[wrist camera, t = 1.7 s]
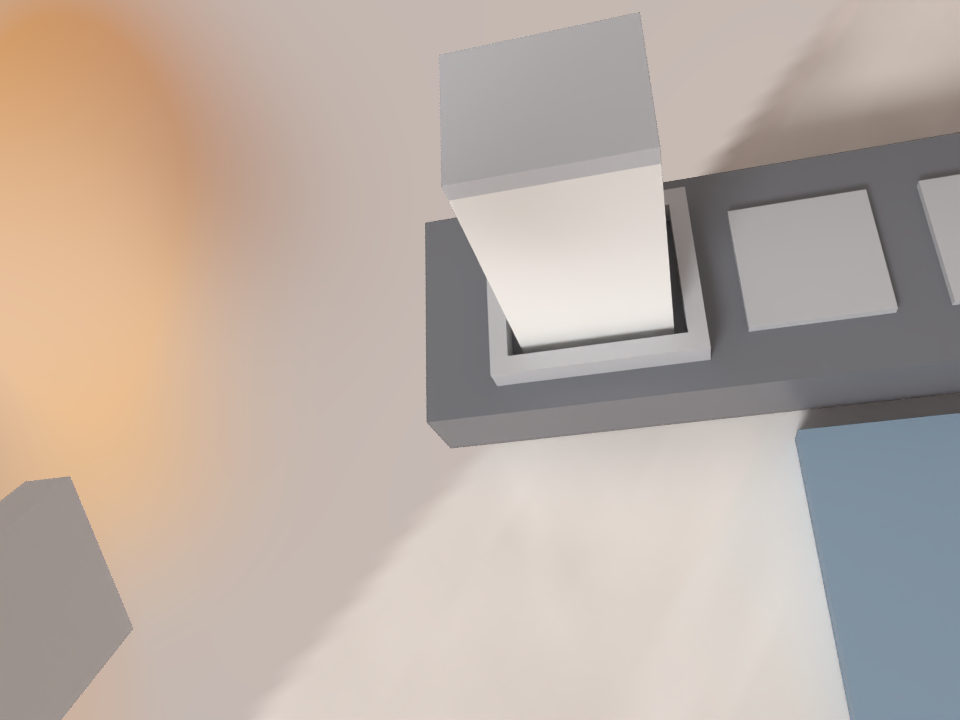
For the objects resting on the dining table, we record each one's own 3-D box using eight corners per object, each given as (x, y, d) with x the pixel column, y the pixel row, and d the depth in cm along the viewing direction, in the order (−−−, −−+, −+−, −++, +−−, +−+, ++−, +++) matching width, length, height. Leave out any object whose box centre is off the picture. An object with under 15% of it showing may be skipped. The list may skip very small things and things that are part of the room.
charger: (659, 231, 29) (639, 11, 20) (674, 335, 27) (659, 147, 18) (518, 254, 30) (439, 55, 21) (524, 355, 28) (441, 186, 19)
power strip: (1401, 110, 27) (1512, 13, 23) (1536, 329, 24) (1691, 257, 20) (447, 261, 34) (415, 205, 30) (450, 448, 31) (415, 410, 27)
